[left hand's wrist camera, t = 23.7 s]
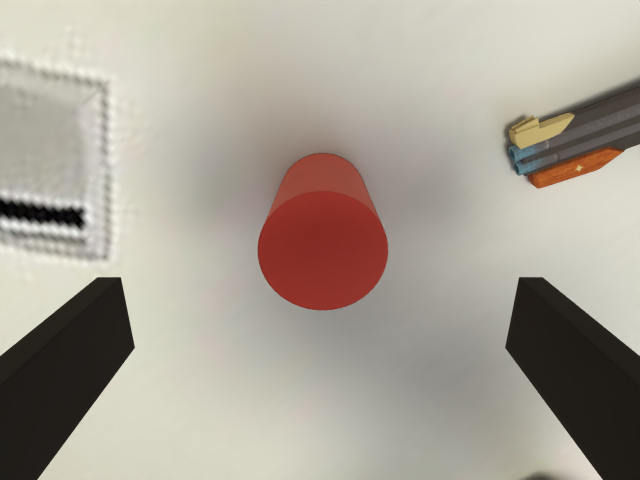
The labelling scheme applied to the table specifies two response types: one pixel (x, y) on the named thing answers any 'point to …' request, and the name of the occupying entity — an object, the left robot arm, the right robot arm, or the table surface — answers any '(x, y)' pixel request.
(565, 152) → the toy gun
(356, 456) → the table surface
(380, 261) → the canister
